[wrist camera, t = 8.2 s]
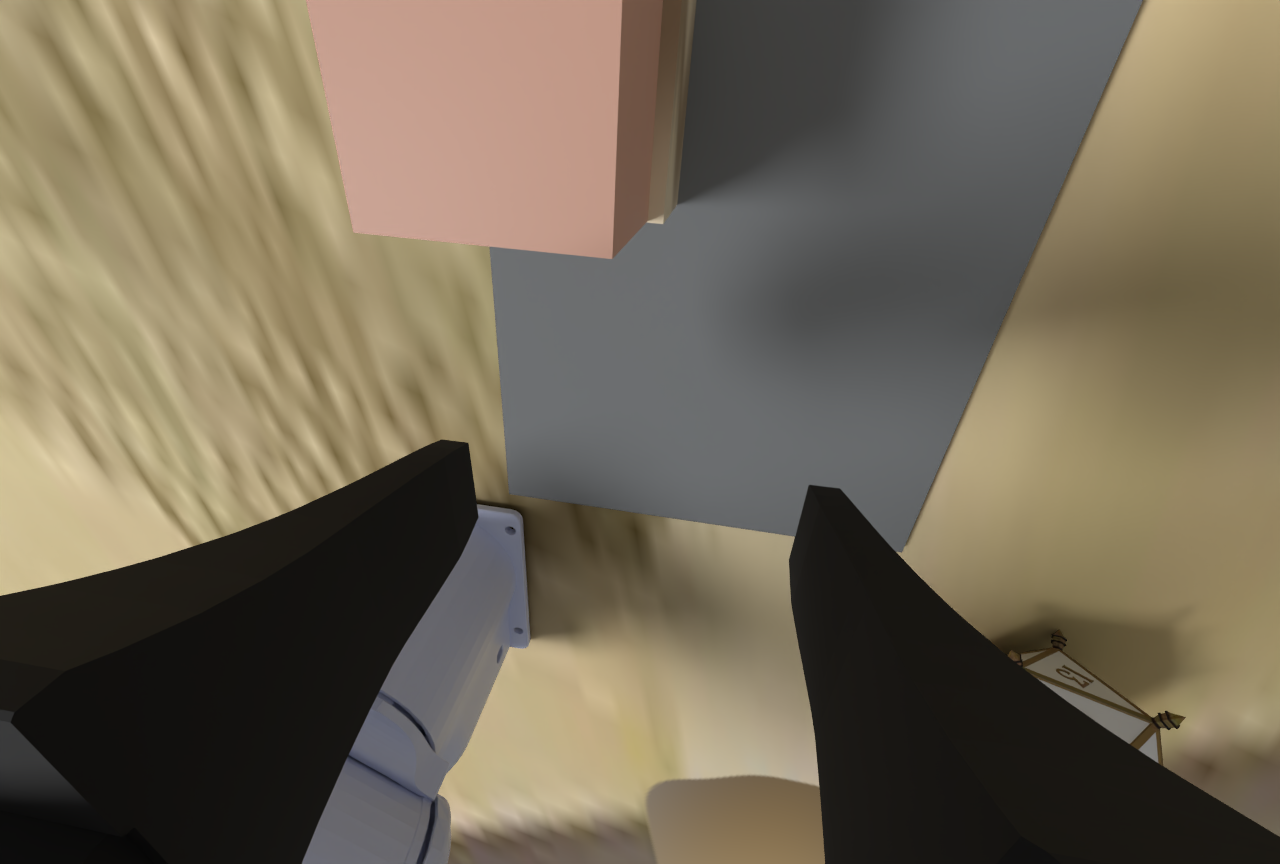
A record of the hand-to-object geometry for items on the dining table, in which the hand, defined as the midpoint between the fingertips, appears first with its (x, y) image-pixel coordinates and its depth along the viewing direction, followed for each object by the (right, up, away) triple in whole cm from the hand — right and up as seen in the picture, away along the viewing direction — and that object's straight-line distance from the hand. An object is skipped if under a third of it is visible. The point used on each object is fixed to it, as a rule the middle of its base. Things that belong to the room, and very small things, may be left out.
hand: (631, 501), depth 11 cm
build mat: (+3, +7, +6) cm, 10 cm away
